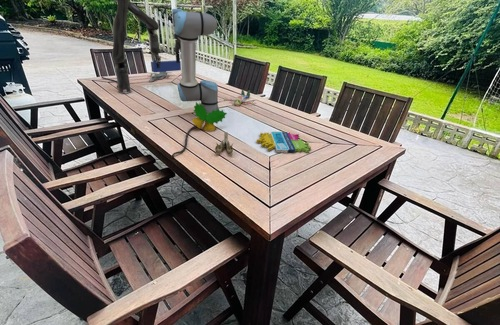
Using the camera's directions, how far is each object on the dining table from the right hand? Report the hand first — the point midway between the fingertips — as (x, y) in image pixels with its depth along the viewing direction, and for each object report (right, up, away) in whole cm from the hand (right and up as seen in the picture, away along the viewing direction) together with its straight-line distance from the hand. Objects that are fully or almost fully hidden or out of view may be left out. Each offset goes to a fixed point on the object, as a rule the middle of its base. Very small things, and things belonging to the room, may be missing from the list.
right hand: (180, 64), depth 201 cm
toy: (+46, -24, +20) cm, 56 cm away
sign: (+72, -65, -48) cm, 108 cm away
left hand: (-31, +10, +34) cm, 47 cm away
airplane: (-42, +13, +75) cm, 87 cm away
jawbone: (+40, -70, -62) cm, 102 cm away
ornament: (+28, -55, -36) cm, 71 cm away
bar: (-24, +9, +42) cm, 49 cm away
